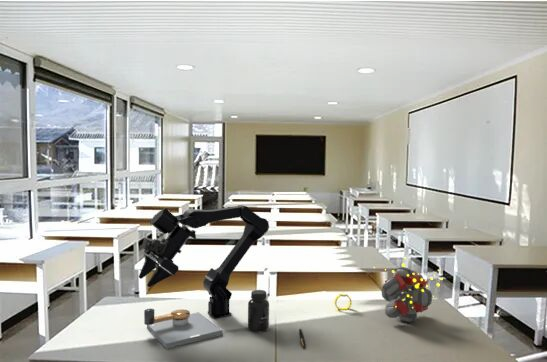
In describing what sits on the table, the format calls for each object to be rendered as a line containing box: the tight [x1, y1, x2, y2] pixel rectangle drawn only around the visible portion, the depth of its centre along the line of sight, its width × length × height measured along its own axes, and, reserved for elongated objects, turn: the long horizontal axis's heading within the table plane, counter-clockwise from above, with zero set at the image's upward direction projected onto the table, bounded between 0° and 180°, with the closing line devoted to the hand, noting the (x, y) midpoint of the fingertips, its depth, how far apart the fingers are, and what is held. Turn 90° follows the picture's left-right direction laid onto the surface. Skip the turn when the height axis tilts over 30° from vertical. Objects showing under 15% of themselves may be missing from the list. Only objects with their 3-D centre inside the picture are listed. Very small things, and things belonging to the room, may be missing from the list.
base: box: [146, 312, 223, 349], centre depth 134 cm, size 18×18×4 cm
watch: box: [334, 292, 352, 311], centre depth 154 cm, size 6×3×6 cm, turn 96°
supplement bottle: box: [247, 289, 270, 333], centre depth 136 cm, size 7×7×12 cm
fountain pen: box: [298, 328, 306, 349], centre depth 129 cm, size 14×1×2 cm, turn 1°
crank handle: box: [143, 308, 191, 326], centre depth 134 cm, size 14×6×4 cm, turn 124°
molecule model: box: [373, 256, 444, 323], centre depth 143 cm, size 25×21×23 cm
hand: (143, 282), depth 135 cm, fingers open, 9 cm apart
